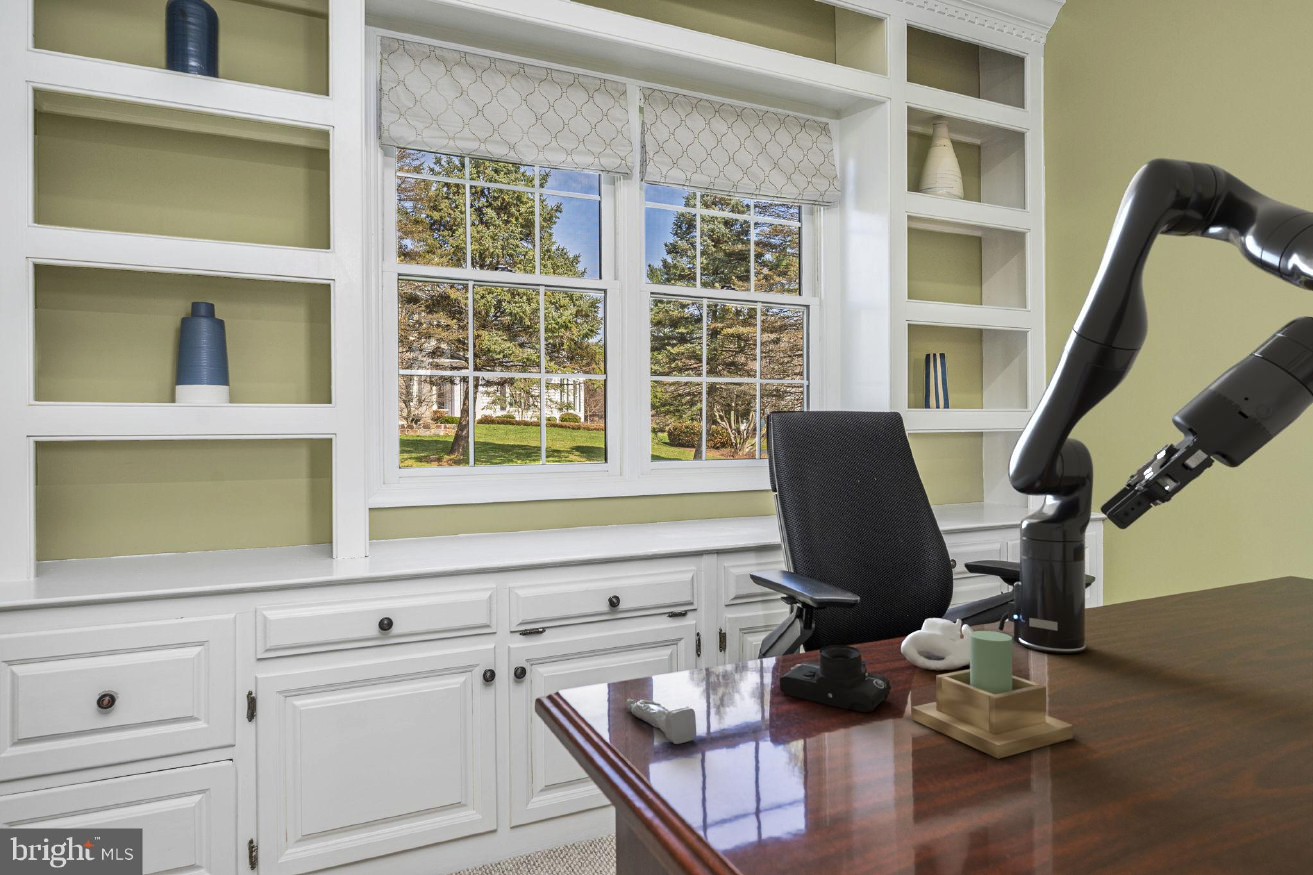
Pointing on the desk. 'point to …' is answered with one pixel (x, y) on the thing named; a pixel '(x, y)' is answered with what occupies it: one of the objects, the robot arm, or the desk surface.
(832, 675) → the film camera
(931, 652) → the white looped sculpture
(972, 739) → the display stand
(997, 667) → the green tall cylinder
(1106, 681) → the desk surface
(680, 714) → the figurine
